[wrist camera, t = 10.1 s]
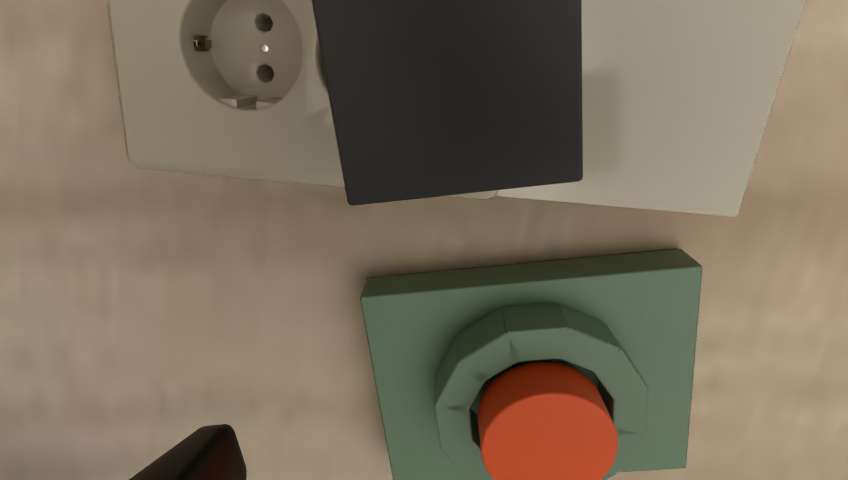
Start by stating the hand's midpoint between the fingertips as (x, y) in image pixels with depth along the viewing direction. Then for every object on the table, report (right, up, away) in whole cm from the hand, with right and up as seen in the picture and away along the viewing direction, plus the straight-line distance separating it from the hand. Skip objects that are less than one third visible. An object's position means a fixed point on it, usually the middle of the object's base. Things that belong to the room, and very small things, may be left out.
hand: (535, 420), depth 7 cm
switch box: (+3, -2, +13) cm, 14 cm away
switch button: (+3, -4, +11) cm, 11 cm away
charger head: (-1, +7, +6) cm, 9 cm away
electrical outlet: (-1, +9, +10) cm, 13 cm away
